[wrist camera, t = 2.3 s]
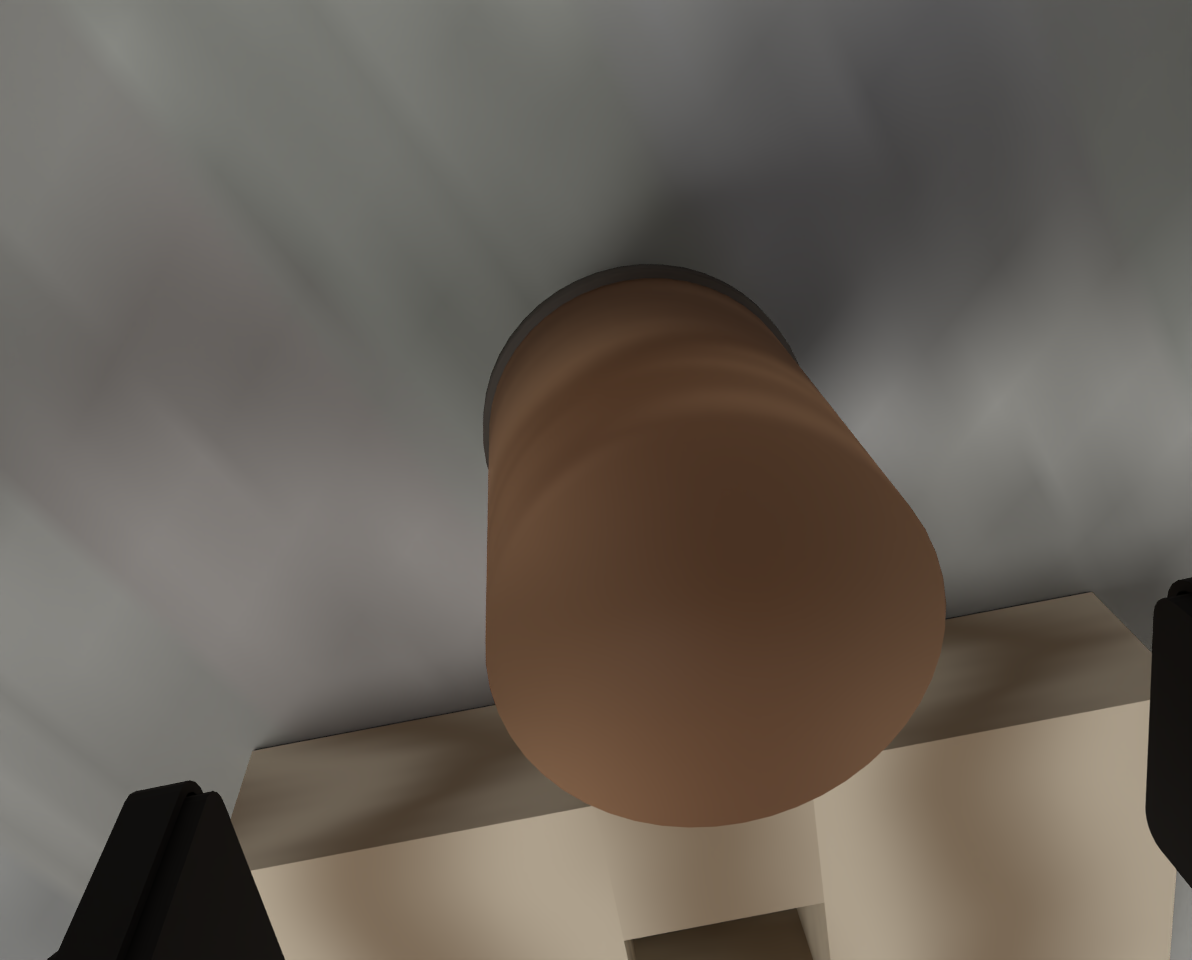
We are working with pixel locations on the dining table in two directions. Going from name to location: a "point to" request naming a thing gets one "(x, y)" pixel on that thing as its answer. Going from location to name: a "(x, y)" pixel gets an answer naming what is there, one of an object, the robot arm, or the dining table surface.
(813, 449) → the peg
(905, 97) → the dining table surface
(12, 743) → the dining table surface
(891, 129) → the dining table surface
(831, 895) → the board
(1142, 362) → the dining table surface
